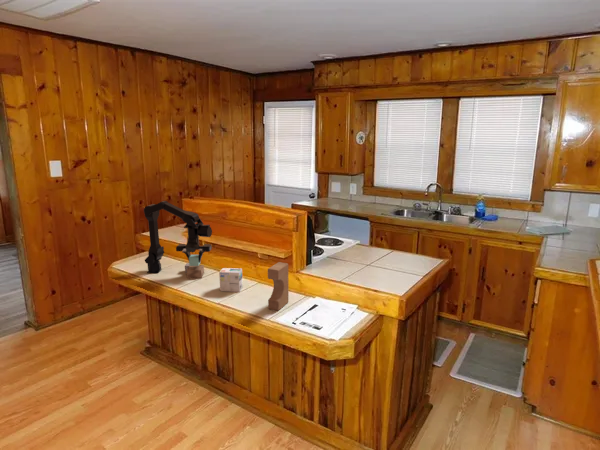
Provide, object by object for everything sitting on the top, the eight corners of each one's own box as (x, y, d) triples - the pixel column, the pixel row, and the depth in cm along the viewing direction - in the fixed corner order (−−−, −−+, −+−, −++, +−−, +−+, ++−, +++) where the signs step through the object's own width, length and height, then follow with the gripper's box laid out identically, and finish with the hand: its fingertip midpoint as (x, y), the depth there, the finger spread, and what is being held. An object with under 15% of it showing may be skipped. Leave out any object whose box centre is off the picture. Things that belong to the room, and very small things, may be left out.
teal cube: (189, 265, 225) (188, 257, 224) (191, 262, 230) (191, 254, 229) (198, 265, 225) (197, 257, 224) (200, 262, 230) (200, 254, 229)
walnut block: (187, 278, 225) (186, 270, 224) (190, 273, 233) (189, 265, 232) (201, 278, 225) (201, 270, 224) (204, 273, 233) (203, 265, 232)
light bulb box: (243, 287, 213) (242, 268, 210) (240, 292, 207) (239, 272, 204) (223, 286, 214) (222, 267, 211) (219, 291, 208) (218, 271, 205)
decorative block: (278, 311, 185) (277, 270, 181) (267, 309, 188) (266, 268, 183) (289, 302, 195) (289, 263, 190) (278, 300, 198) (278, 261, 193)
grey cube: (185, 273, 233) (184, 265, 232) (187, 270, 237) (186, 263, 236) (192, 273, 233) (192, 265, 232) (194, 270, 238) (194, 263, 236)
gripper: (171, 239, 216) (173, 267, 220) (206, 239, 215) (207, 267, 219) (178, 234, 227) (180, 260, 230) (211, 234, 226) (212, 260, 230)
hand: (194, 262), depth 227 cm, fingers closed on teal cube, 5 cm apart
